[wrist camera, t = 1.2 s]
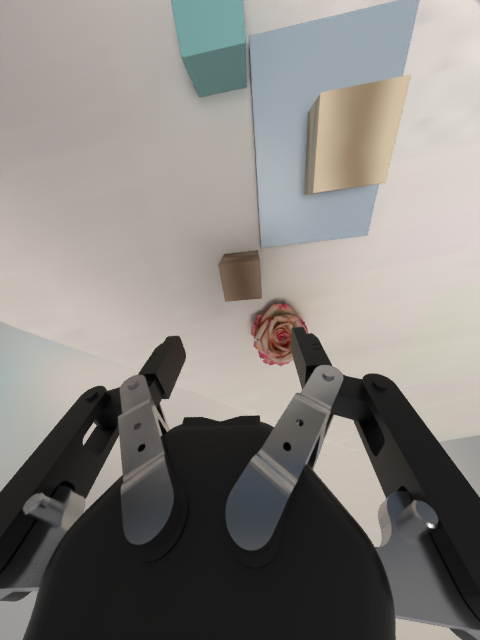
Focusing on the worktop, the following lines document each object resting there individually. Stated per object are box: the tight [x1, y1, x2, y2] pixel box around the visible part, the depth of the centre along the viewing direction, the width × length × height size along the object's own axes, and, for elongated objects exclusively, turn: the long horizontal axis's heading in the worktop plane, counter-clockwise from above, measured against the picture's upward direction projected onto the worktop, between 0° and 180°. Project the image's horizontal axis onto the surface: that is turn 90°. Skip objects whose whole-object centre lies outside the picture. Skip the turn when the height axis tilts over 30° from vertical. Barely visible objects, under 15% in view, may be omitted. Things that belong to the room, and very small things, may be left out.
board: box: [249, 0, 419, 248], centre depth 21 cm, size 14×18×1 cm
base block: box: [304, 75, 411, 195], centre depth 18 cm, size 7×7×4 cm
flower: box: [251, 304, 308, 366], centre depth 31 cm, size 10×9×8 cm
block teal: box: [171, 0, 247, 97], centre depth 15 cm, size 5×5×6 cm
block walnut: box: [219, 250, 262, 302], centre depth 26 cm, size 5×5×6 cm
